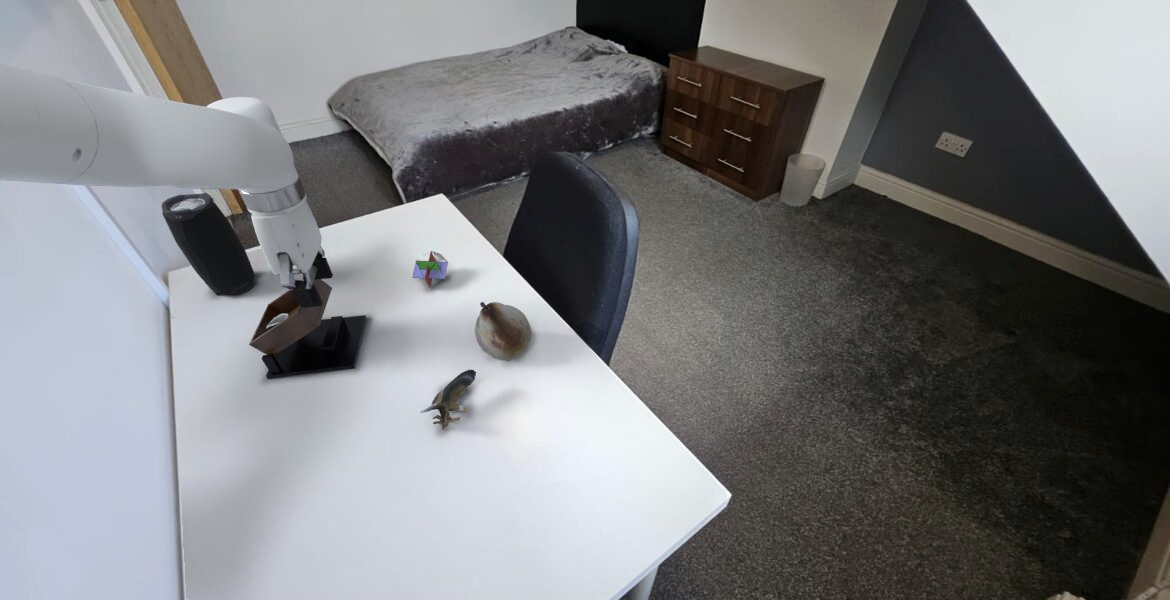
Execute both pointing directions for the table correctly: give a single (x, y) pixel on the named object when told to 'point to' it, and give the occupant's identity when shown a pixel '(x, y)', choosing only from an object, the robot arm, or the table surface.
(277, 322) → the smartwatch
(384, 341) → the table surface
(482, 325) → the fruit
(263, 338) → the open drawer
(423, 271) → the geometric puzzle
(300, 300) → the robot arm
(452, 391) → the eagle figurine
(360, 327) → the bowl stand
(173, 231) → the portable speaker
